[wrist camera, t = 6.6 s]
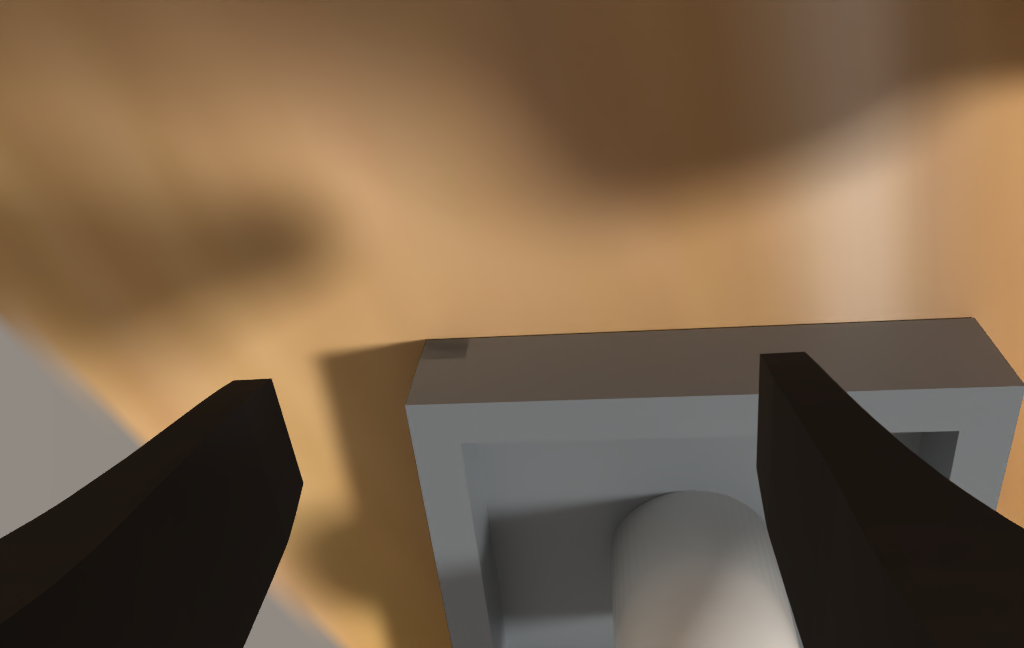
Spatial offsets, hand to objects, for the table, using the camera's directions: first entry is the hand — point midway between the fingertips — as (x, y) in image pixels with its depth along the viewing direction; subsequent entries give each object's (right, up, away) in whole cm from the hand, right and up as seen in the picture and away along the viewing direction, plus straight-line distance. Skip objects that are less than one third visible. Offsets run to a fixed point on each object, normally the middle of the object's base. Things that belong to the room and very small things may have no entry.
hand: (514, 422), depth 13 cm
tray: (+5, -5, +13) cm, 15 cm away
